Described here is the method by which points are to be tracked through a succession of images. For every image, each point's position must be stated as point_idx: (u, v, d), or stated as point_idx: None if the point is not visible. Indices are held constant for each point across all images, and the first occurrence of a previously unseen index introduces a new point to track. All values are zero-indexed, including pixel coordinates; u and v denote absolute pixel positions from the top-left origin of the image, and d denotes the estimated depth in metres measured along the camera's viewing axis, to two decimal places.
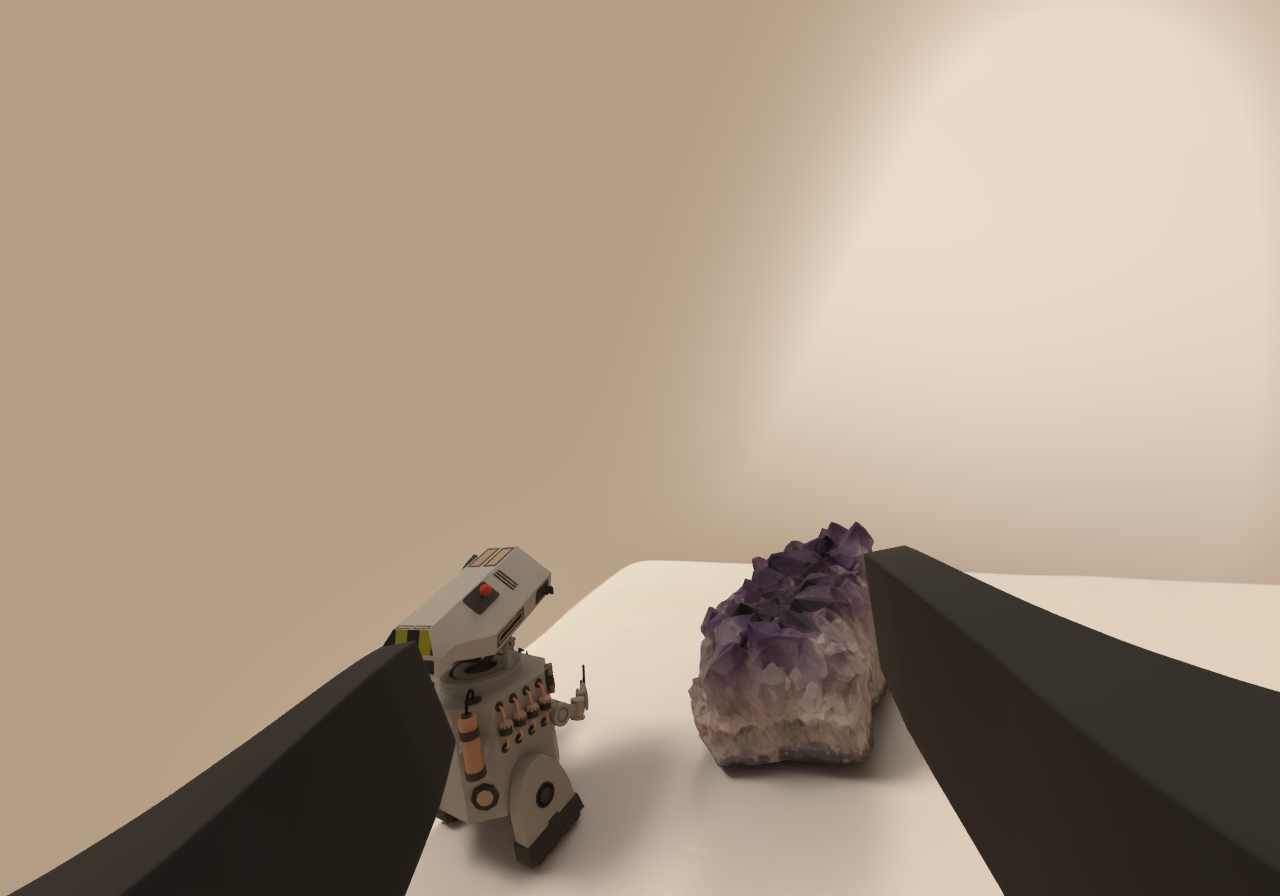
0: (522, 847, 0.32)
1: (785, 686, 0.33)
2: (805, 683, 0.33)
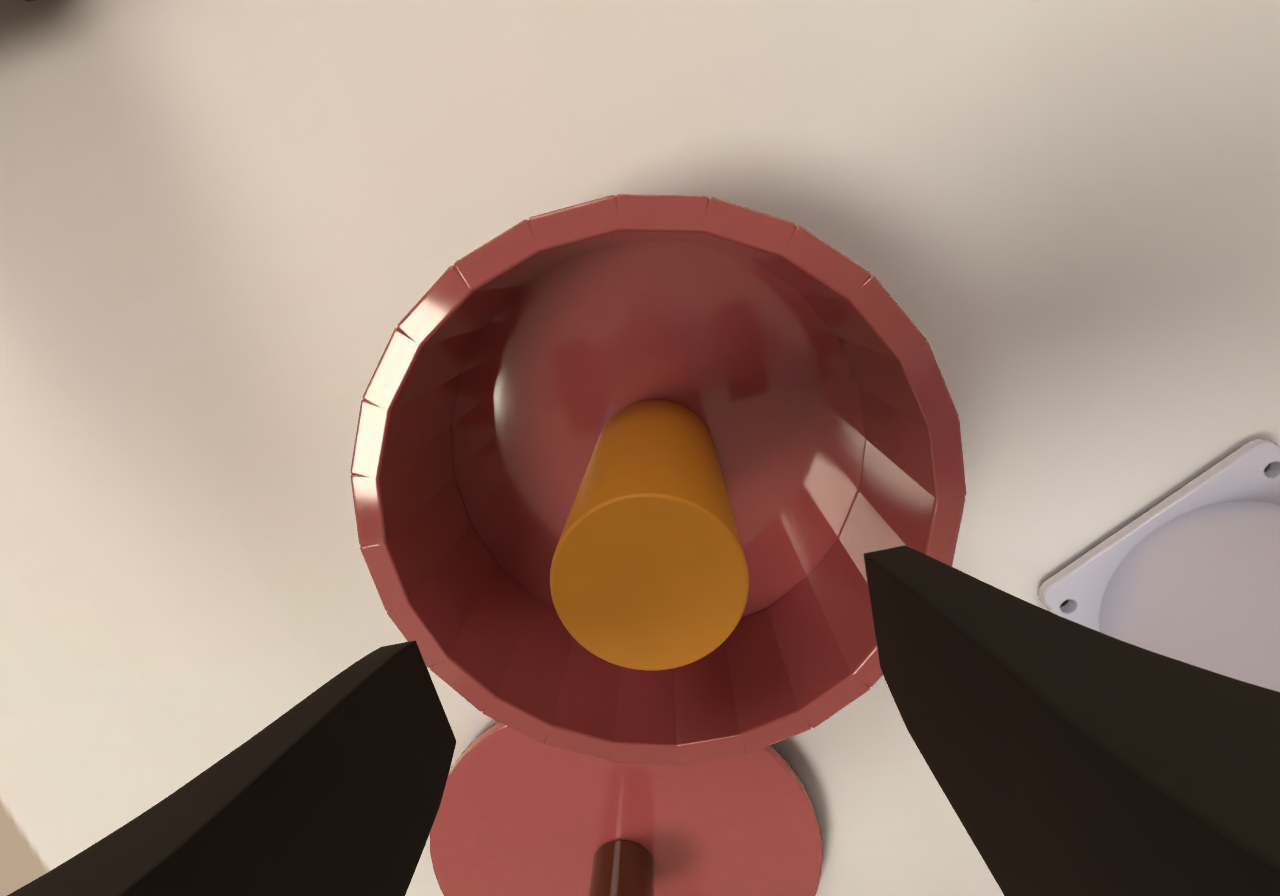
0: None
1: None
2: None
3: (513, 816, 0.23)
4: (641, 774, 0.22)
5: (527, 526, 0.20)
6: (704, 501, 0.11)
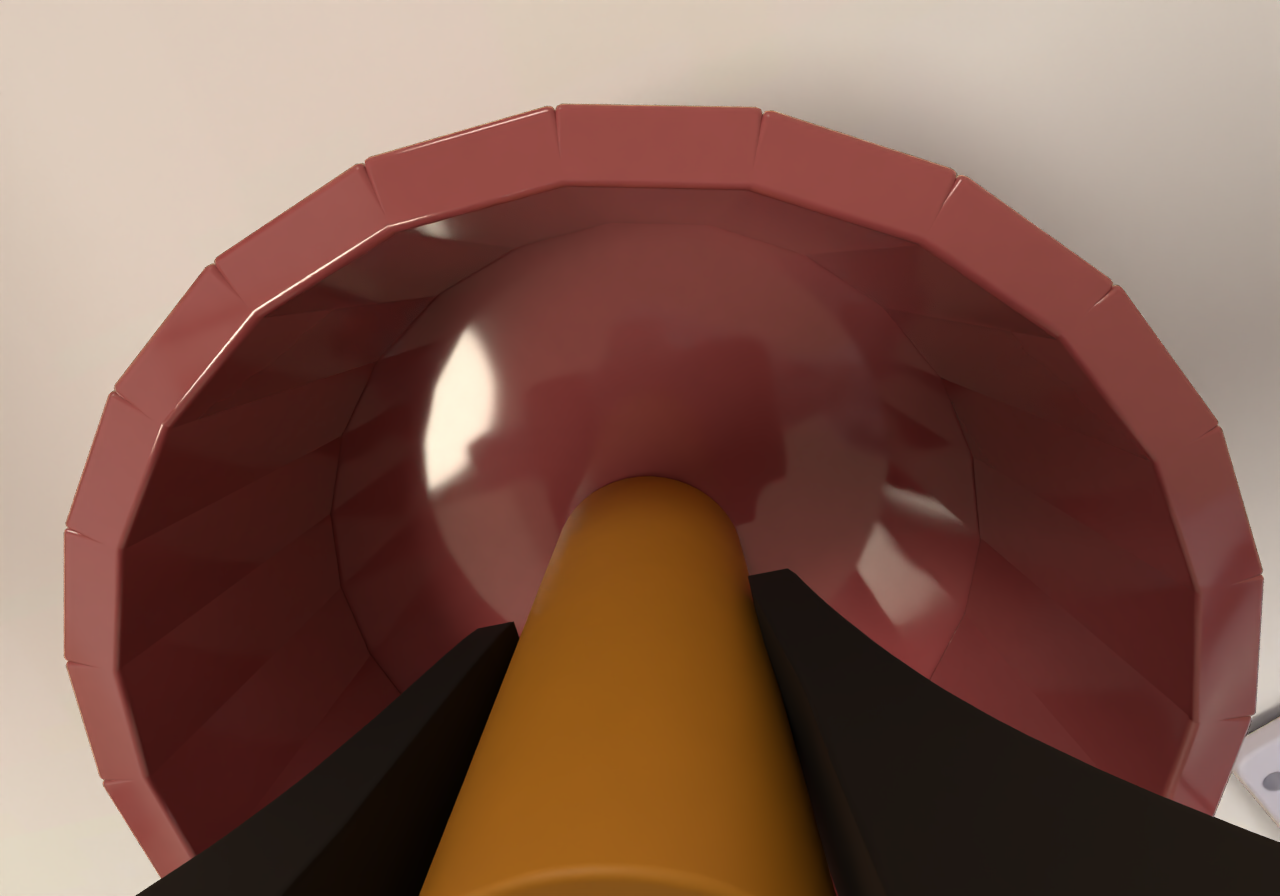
0: None
1: None
2: None
3: None
4: None
5: None
6: (760, 853, 0.04)
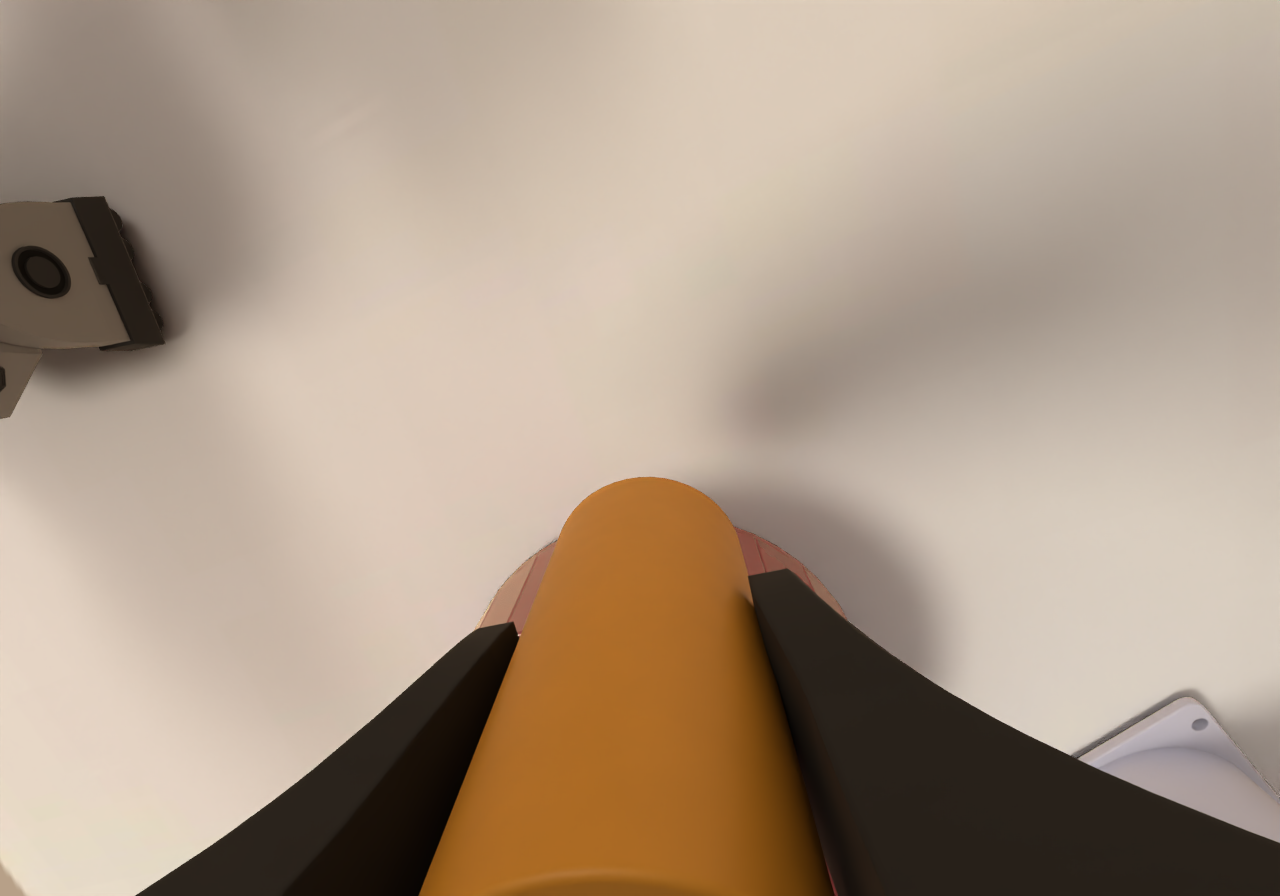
0: (119, 345, 0.17)
1: None
2: None
3: None
4: None
5: None
6: (759, 855, 0.04)
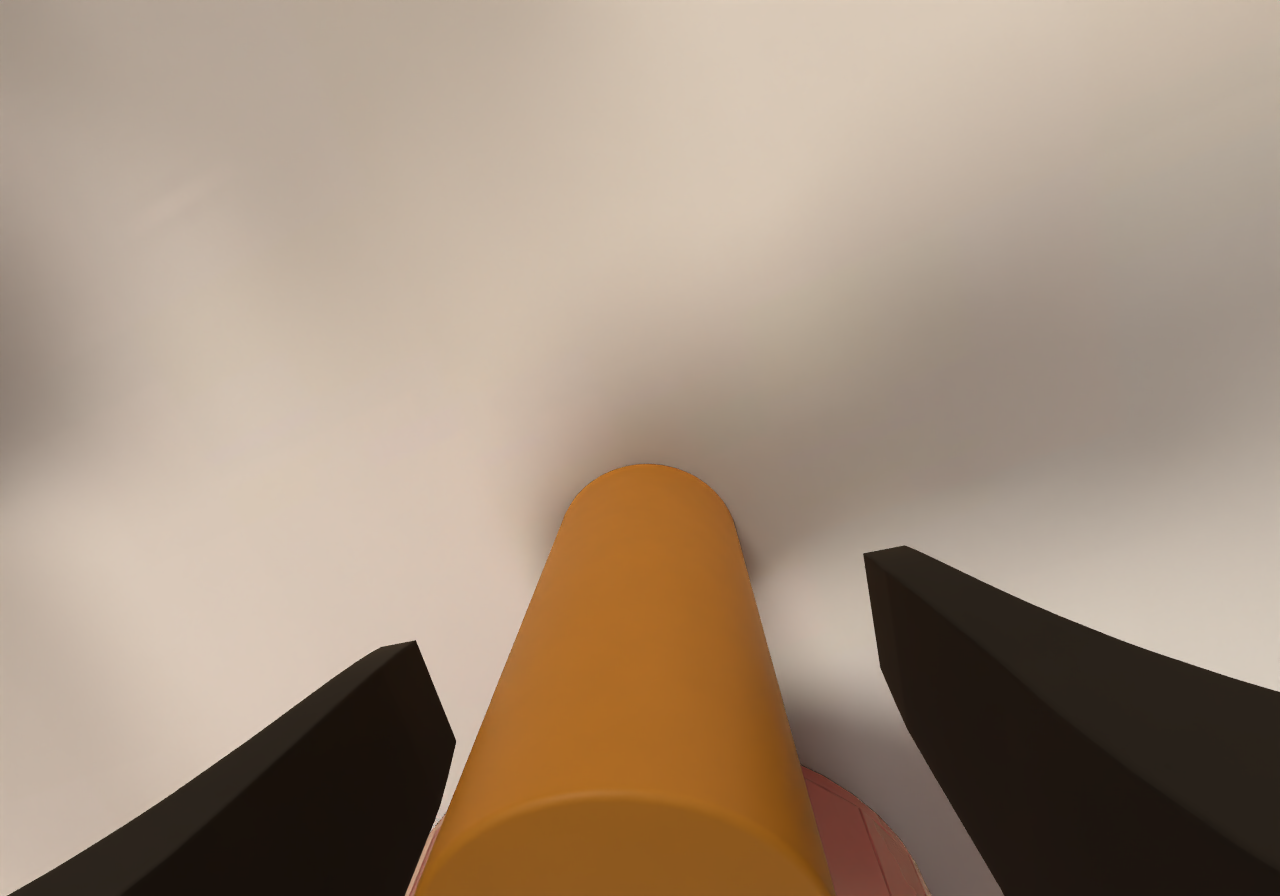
0: None
1: None
2: None
3: None
4: None
5: None
6: (748, 783, 0.05)
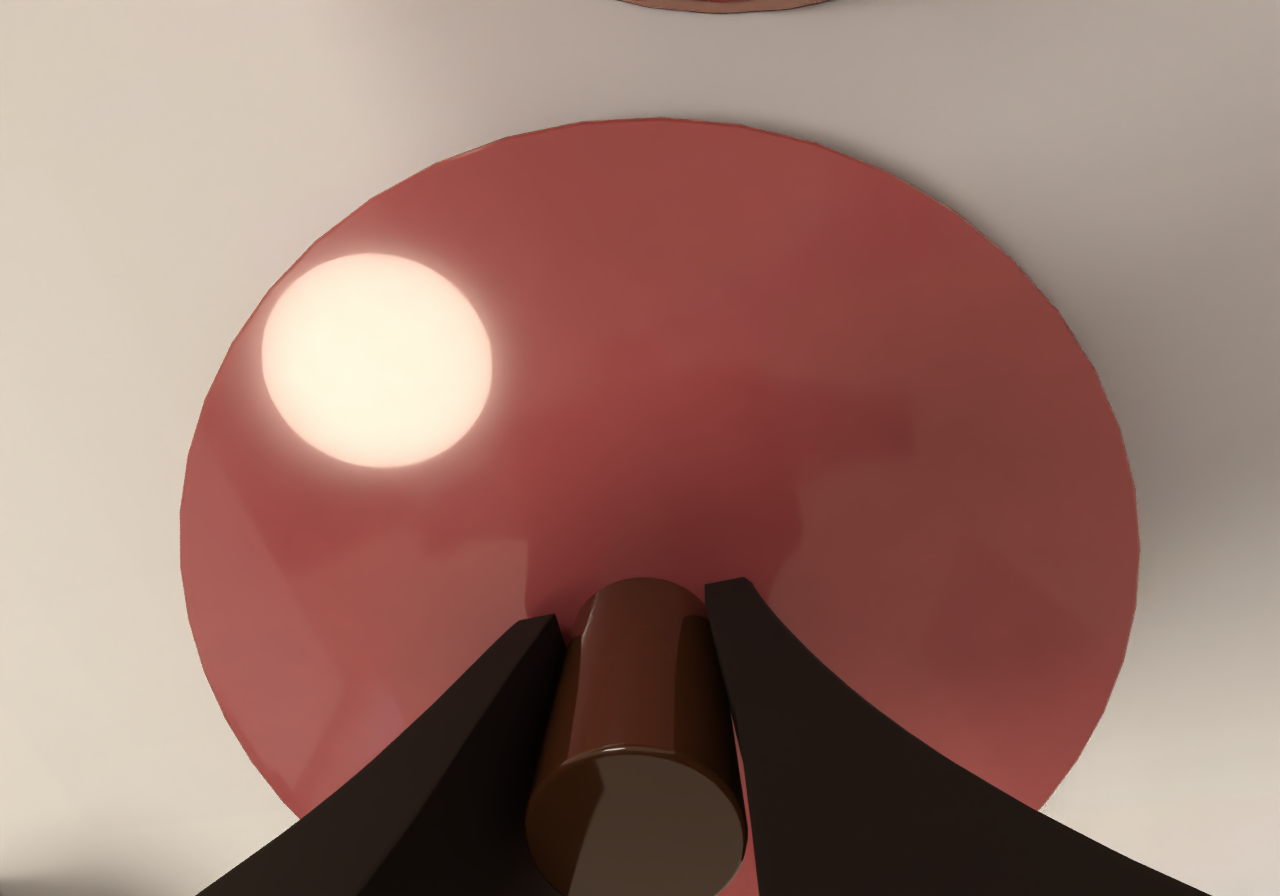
0: None
1: None
2: None
3: (375, 517, 0.09)
4: (696, 378, 0.08)
5: None
6: None
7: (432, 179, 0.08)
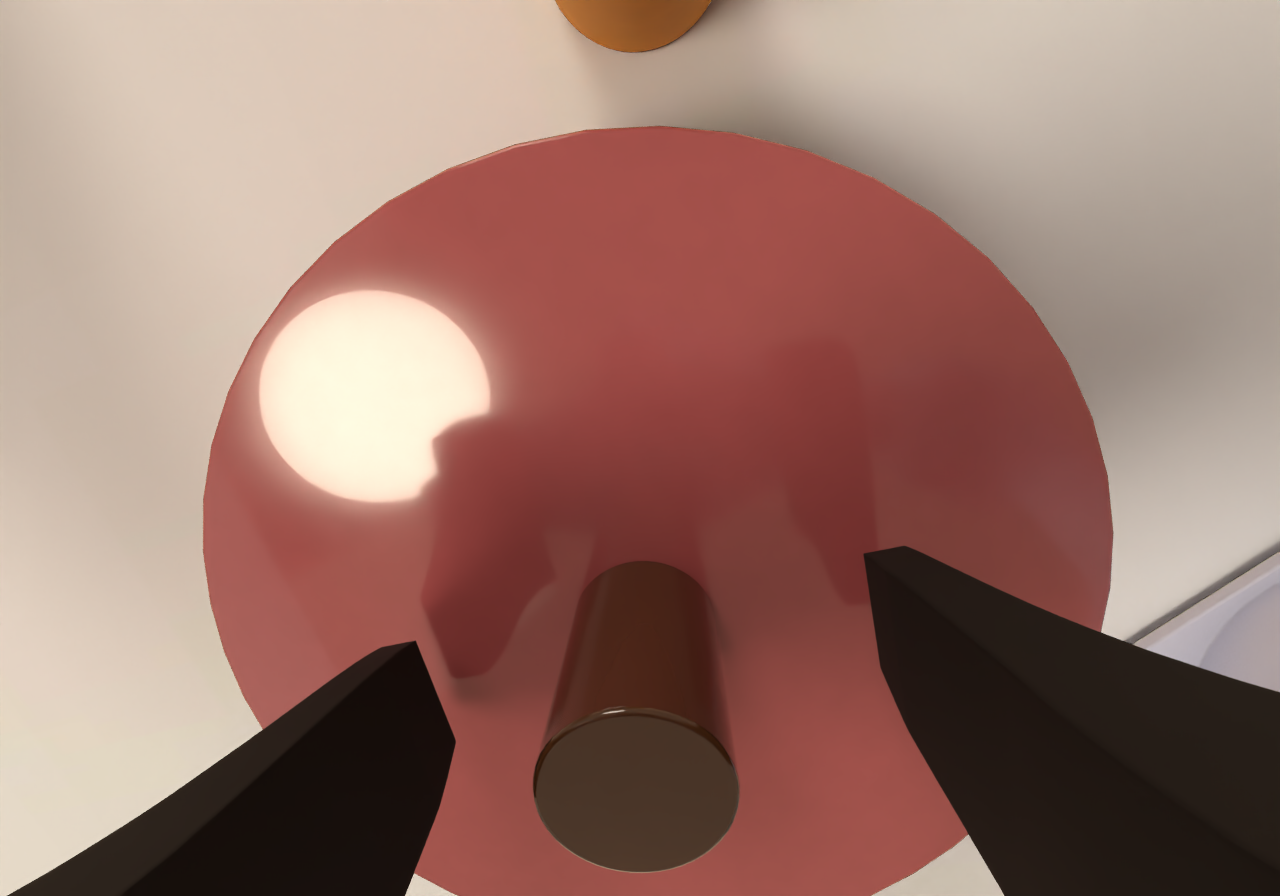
0: None
1: None
2: None
3: (388, 503, 0.10)
4: (692, 371, 0.09)
5: None
6: None
7: (445, 184, 0.08)
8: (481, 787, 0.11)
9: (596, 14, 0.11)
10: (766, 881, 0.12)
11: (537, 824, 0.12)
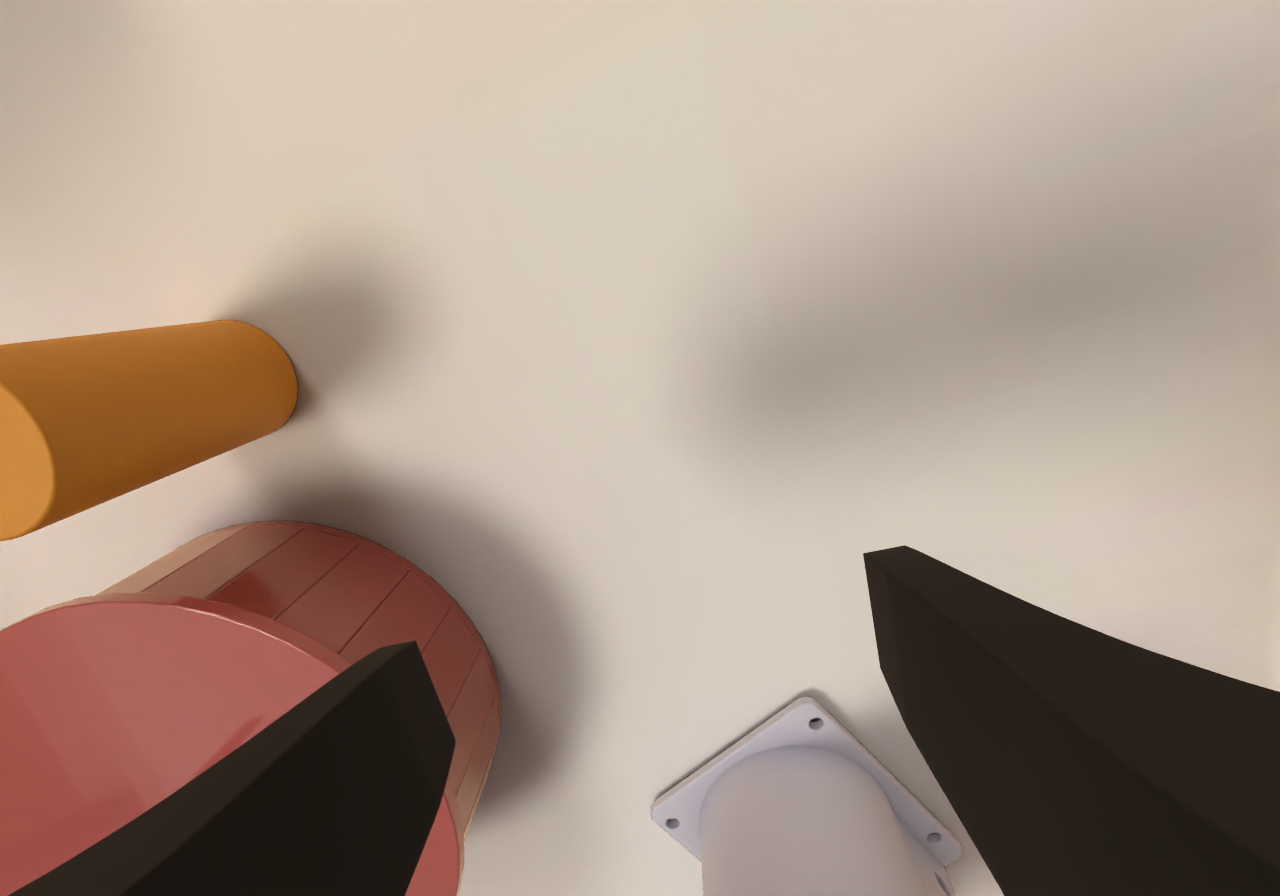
0: None
1: None
2: None
3: (32, 773, 0.16)
4: (186, 712, 0.16)
5: None
6: (5, 367, 0.11)
7: (30, 624, 0.15)
8: None
9: None
10: None
11: None
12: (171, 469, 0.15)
